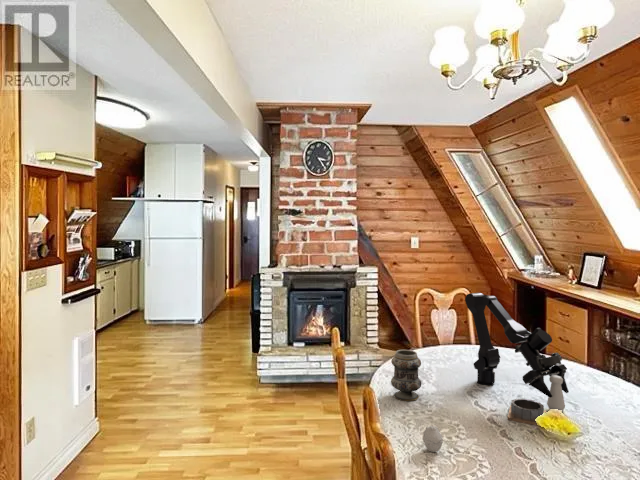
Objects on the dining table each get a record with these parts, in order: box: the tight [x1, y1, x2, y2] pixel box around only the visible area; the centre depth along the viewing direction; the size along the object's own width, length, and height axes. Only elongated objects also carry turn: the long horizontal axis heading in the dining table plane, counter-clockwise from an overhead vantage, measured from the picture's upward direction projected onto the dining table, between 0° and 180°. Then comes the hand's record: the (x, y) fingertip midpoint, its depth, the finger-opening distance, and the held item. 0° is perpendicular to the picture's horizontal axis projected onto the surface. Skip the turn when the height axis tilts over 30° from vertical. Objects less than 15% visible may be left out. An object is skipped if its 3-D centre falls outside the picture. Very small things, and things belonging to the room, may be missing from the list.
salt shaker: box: [546, 375, 566, 413], centre depth 158 cm, size 6×6×13 cm
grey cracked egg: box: [422, 425, 444, 453], centre depth 131 cm, size 6×7×7 cm
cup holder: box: [507, 398, 547, 427], centre depth 153 cm, size 12×12×4 cm
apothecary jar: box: [390, 349, 422, 402], centre depth 173 cm, size 12×12×18 cm
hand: (559, 394), depth 157 cm, fingers open, 9 cm apart
